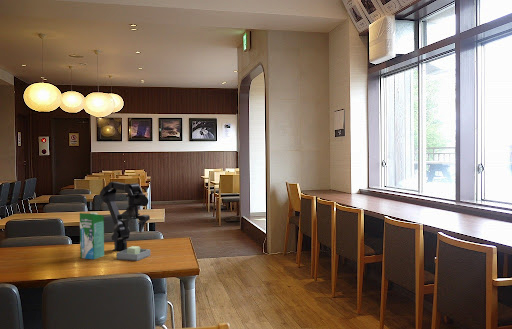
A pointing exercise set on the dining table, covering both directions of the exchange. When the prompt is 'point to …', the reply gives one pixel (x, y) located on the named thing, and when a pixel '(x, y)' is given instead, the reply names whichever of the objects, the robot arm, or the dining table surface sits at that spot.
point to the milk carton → (91, 235)
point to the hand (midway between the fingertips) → (133, 232)
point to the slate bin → (133, 255)
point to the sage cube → (133, 250)
